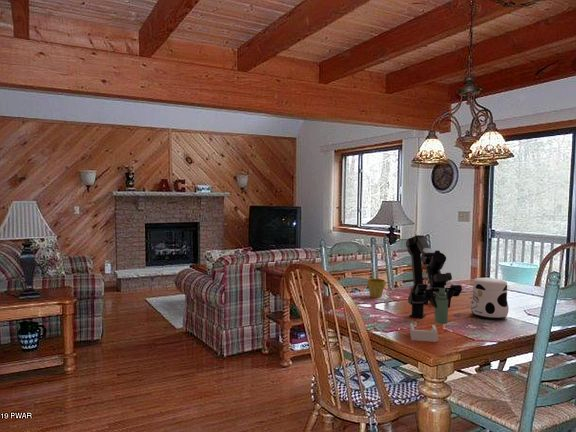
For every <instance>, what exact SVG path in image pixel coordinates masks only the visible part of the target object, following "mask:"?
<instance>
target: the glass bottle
mask: <svg viewBox="0 0 576 432" xmlns="http://www.w3.org/2000/svg"><path fill="white" fill-rule="evenodd" d="M435 301H436V305H437V307H436V308H435V307H434V323H436V324H440V325H447V324H448V318H449V317H448V316H449V308H448V299H447V295H445V288H442V287H440V288H439V294H437V297H436V298H435Z"/></svg>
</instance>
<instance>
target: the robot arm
mask: <svg viewBox="0 0 576 432" xmlns="http://www.w3.org/2000/svg"><path fill="white" fill-rule="evenodd" d="M426 238H427V237H426V236H425V235H424V234H422V235H421V234H420V235H419V234H417V235H414V236H411V237H409V238H407V240H406V241H405V247H406V249H407V253H408V254H409V256H410V257H411V258H410V259H411V268H412V271H411V272H412V280H413V281H412V282H413V285H412V287H411V289H410V293H409V296H408V298H407V301H408V302H407V303H408V304H409V305H410V306H411V313H410V314H409V317H412V318H418V319H423V318H425V317H426V316H427V315H426V314H425V313H424V312H425V310H424V309H425V305H426V306H428V304H429V302H430V304H431V305H432V306H433V307H434V309H435V308H436V307H437V305H436V301H435V298H434V295H433V292H439V288H440V287H442V288H445V293H446V295H447V299H448V309H450V308H451V300H452V298H453V297H459V296H460V294H461V293H462V291H463V286H462V285H461V284H459V283H458V284H457V283H456V284H451V285H450V286H449V287H447V282H449V281H452V280H453V276H452V273H451V272H446V273H441V270H442V269H443V267H444V266H445V262H446V261H447V256H446V255H445V254H444V253H443V252H441V251H440V250H435V249H432V248H431V246H430V244H429V243H428V241H427V239H426ZM422 265H424V266H425V265H426V268H425V270H426V271H425V273H426V275H427V279H428V284H429V285H428V284H427V283H424V278H423V277H424V276H423V268H422V267H423V266H422ZM444 286H446V287H444Z"/></svg>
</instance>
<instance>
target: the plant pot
mask: <svg viewBox="0 0 576 432" xmlns="http://www.w3.org/2000/svg"><path fill="white" fill-rule="evenodd" d="M366 283H367V286H368V291H369V296H370V298H376V299H379V298H382V297H383V292H384V289H385V287H386V280H385V279H381V278H368V279H367V282H366Z"/></svg>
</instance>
